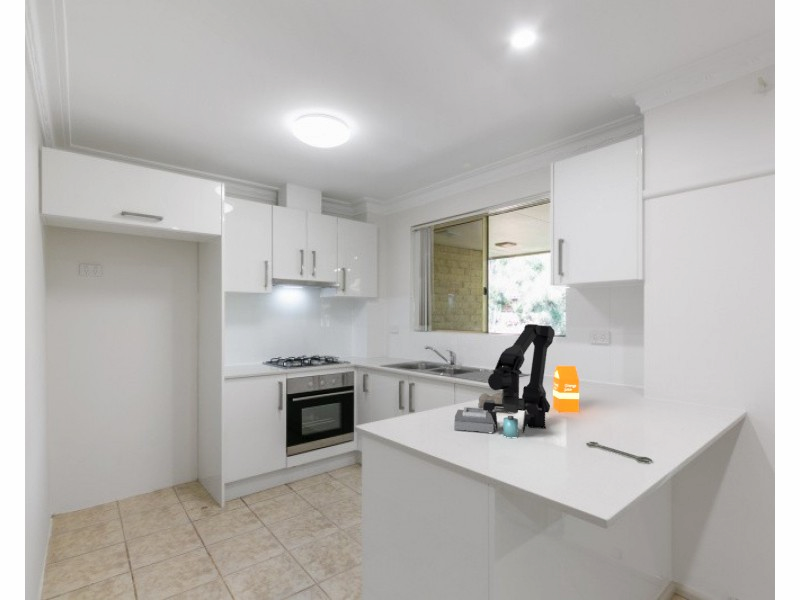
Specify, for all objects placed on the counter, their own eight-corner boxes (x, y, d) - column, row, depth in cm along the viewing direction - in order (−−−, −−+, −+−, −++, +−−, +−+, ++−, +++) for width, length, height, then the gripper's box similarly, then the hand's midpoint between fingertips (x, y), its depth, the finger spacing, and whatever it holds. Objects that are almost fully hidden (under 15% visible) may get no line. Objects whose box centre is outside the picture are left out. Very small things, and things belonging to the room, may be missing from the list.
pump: (517, 434, 148) (517, 415, 149) (518, 438, 144) (518, 418, 144) (503, 433, 150) (503, 414, 150) (503, 437, 145) (503, 417, 145)
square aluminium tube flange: (493, 424, 161) (494, 407, 161) (493, 434, 149) (493, 415, 149) (457, 421, 164) (458, 405, 164) (454, 430, 152) (454, 412, 152)
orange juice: (579, 412, 182) (579, 367, 183) (559, 412, 182) (559, 366, 183) (571, 408, 190) (572, 364, 190) (552, 408, 190) (553, 364, 191)
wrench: (655, 462, 123) (592, 444, 140) (654, 457, 123) (591, 439, 140) (646, 467, 120) (583, 448, 137) (646, 462, 120) (583, 443, 137)
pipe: (489, 430, 181) (519, 415, 177) (478, 418, 177) (509, 402, 173) (482, 404, 195) (510, 389, 191) (472, 392, 192) (500, 377, 188)
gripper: (483, 389, 141) (482, 435, 141) (540, 393, 137) (539, 440, 136) (484, 384, 152) (483, 426, 151) (537, 387, 148) (536, 431, 147)
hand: (509, 431), depth 146 cm, fingers open, 9 cm apart
